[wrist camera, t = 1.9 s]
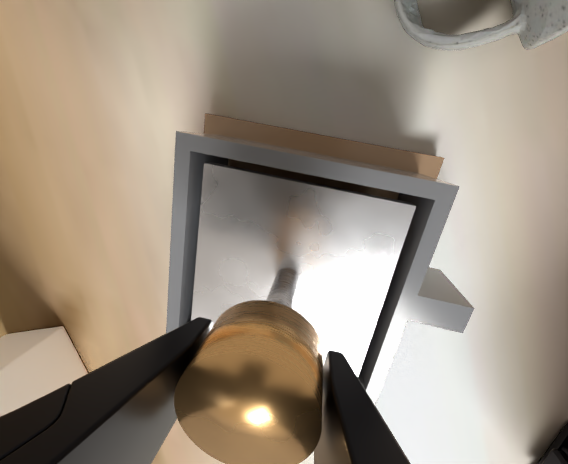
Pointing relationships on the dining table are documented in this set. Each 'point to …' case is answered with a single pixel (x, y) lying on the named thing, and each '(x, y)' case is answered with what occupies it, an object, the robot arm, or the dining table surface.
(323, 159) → the grey square tray
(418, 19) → the ceramic mug
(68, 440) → the robot arm
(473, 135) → the dining table surface
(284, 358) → the plunger
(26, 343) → the milk
